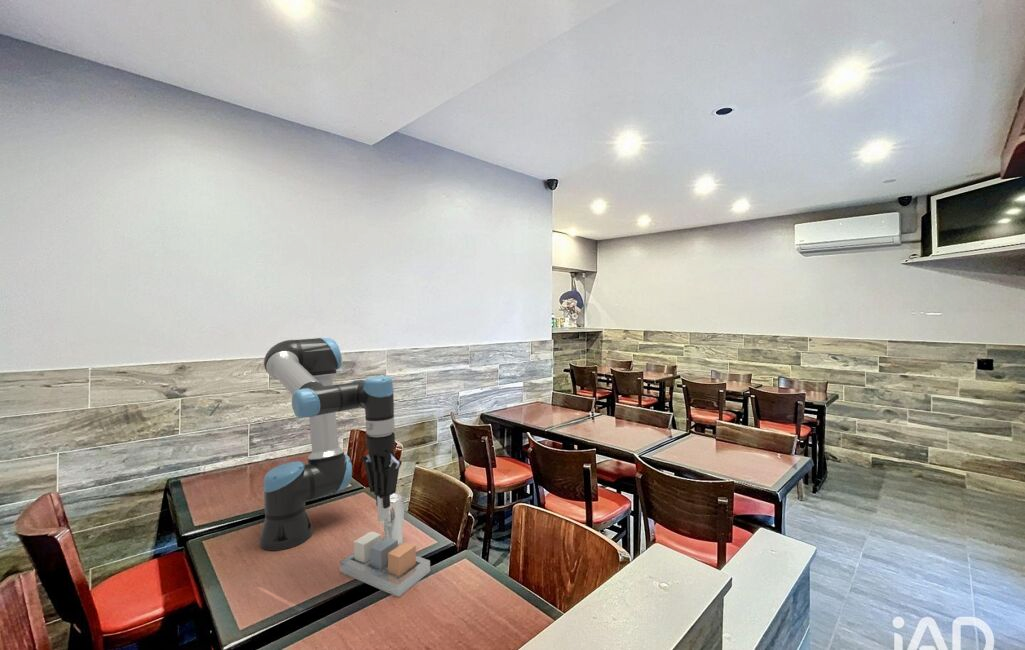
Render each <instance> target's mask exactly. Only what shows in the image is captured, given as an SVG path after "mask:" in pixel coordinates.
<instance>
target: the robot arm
mask: <svg viewBox="0 0 1025 650" xmlns="http://www.w3.org/2000/svg"><path fill="white" fill-rule="evenodd" d="M342 358H343V357H342V354H341V349H340V346H339V345H338V343H337V342H336V341H335V340H334V339H332V338H329V337H326V338H325V337H316V338H304V339H302V338H301V339H288V340H287V339H286V340H283V341H281V342H278V343H276V344H275V345H273V346H272V347H270V348H269V350H268V351H267V353H265V356H264V359H263V367H264V370H265V371H266V373H267V374H268V375H269V376H270V377H271V378H273V379H274V380H278V382H280V383H281V384H282V386H284V387H285V390H286V391H288V392H289V393H290V395H291V396H292V397H291V406H292V410H293V414H294V415H295V417H296V418H298V419H299V418H300V419H302V418H309V419H308V421H309V429H310V443H311V453H310V454H309V456H308V457H307V463H306V464H304V463H303V462H302V461H298V460H297V461H295V460H294V461H290V462H285V463H282V464H280V465H277V466H275V467H273V468H271V469H269V471H268V472H266V474H265V475H264V478H263V487H262V489H263V497H264V498H263V501H264V517H265V518H264V522H263V526H262V527H261V528H262V529H261V533H260V536H259V546H260V548H261V549H263V550H266V551H283V550H286V549H289V548H290V549H291V548H293V547H296V546H298V545H301V544H302V543H304V542H305V541H307V540H308V539H309V538H310V537H312V534H313V524H312V522H311V519H310V517H309V515H308V513H307V510H306V502H308V501H311V500H314V499H317V498H321V497H325V496H328V495H330V494H336V493H337V492H341V491H342V490H345V489H346V488H347V487H348V486H349V485H350V484H351V481H352V478H353V477H352V476H353V464H352V462H351V458H350V456H349V455H348V454H345V451H344V450H343V449H342V448H341V447H340V446H339V434H338V424H337V423H338V422H337V414H336V413H338V412H345V411H350V410H355V409H364V412H365V413H364V415H365V416H364V417H365V433H366V434H367V435H366V436H365V440H366V441H365V442H366V443H365V444H366V445H365V446H366V449H367V450H368V454H367V455H365V456H363V457H361V458H362V459H361V460H362V461H363V464H364V467H365V472H366V477H367V483H368V488H369V491H370V492H371V493H374V495H375V502H376V507H377V521H380V522H382V521H383V520H385V519H387V518H389V507H390V495H392V494H394V493H397V492H396V491H397V484H398V478H399V470H400V468H401V465H402V460H401V459H399V460H397V459H396V457H395V451H394V448H395V445H396V435H395V433H394V431H395V428H396V427H395V425H396V424H395V406H394V405H395V401H394V400H395V399H394V395H395V394H394V392H395V390H394V386H393V385H394V384H393V379H392V377H390V376H387V375H384V376H383V375H377V376H369V377H366V378H365V379H353V380H351V381H349V382H346V383H339V384H338V383H337V384H334V381H333V379H334V378H336V375H338V374H337V370H339V369H340V368H341V367H342V362H343V360H342Z"/></svg>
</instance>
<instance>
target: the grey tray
mask: <svg viewBox="0 0 1025 650" xmlns="http://www.w3.org/2000/svg"><path fill="white" fill-rule="evenodd" d="M339 565H340V566H339V567H340V568H339V569H340V573H341V574H343V575H346V576H349V577H351V578H352V579H356V580H358V581H360V582H362V583H364V584H367V585H369V586H371V587H374V588H376V589H379V590H381V591H383V592H385V593H388V594H389V595H392V596H394V597H396V598H399V597H401V596H402V595H403V594H404V593H406V592H407V591H408V590H409V589H411V588H412V587H413V586H415V585H416V584H417V583H418V582H419V581H421V579H423V578H424V577H425V576H427V575H428V574H429V573H430V572H431V560H430V559H426V558H424V557H421V556H418V555H416V564H415V565H414V566H412V567H411V568H410V569H408V570H407V571H406V572H404V573H403V574H402V575H400V576H398V575H395V574H393V573H390V572H388V565H387V566H386V567H385V568H383V569H382V570H381V569H379V568H376V567H374V566H371V559H370V560H368V561H367V562H365V563H364V562H361V561H358V560H356V559H355V556H354V552H353V553H352V554H350V555H348V556H347V557H345V558H343V559H342V560H340V561H339Z"/></svg>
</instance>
